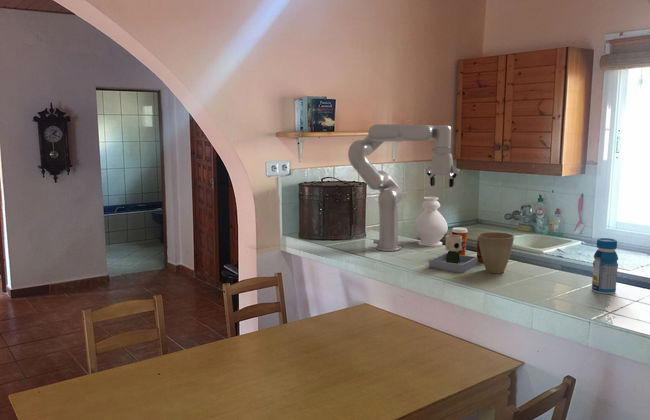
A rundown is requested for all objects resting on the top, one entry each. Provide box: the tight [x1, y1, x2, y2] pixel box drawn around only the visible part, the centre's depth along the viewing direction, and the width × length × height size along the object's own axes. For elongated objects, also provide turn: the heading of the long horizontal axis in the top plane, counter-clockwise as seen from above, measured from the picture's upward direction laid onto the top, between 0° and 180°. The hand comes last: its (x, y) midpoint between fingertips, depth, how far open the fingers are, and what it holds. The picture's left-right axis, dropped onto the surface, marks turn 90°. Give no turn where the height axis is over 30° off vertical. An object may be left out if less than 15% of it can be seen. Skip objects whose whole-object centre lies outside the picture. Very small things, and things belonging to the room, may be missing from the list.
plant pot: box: [477, 231, 515, 274], centre depth 240 cm, size 15×15×16 cm
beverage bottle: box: [591, 237, 619, 295], centre depth 209 cm, size 8×8×20 cm
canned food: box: [476, 238, 483, 263], centre depth 259 cm, size 8×8×11 cm
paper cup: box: [451, 226, 469, 256], centre depth 266 cm, size 8×8×14 cm
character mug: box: [445, 234, 462, 264], centre depth 249 cm, size 11×7×13 cm, turn 130°
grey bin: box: [428, 252, 479, 274], centre depth 249 cm, size 16×18×4 cm
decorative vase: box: [413, 196, 449, 247], centre depth 297 cm, size 18×18×25 cm
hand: (441, 186), depth 271 cm, fingers open, 9 cm apart
